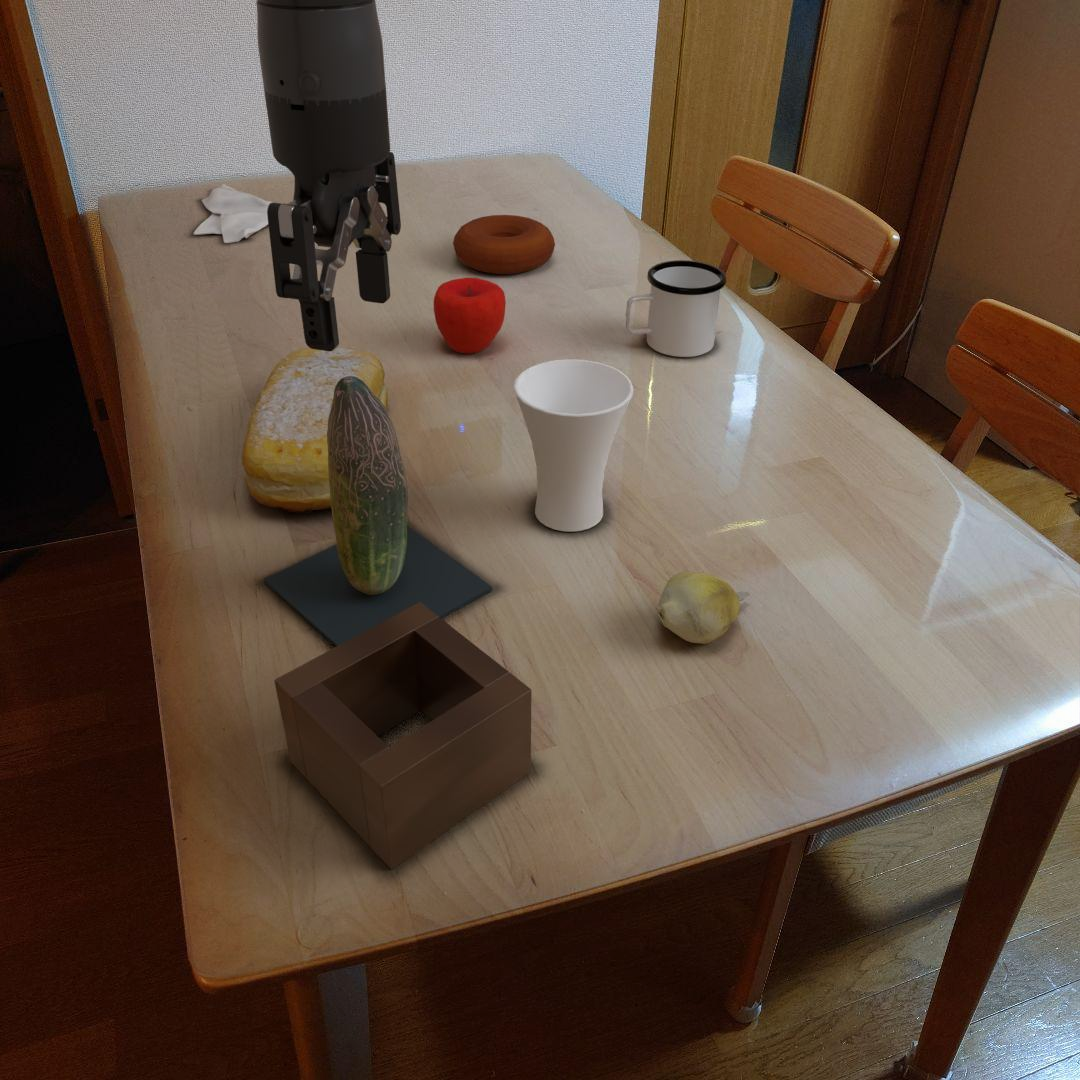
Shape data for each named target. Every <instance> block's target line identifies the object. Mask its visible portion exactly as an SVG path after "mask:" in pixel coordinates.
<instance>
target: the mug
mask: <svg viewBox="0 0 1080 1080" xmlns="http://www.w3.org/2000/svg"><path fill="white" fill-rule="evenodd" d="M646 279H647V281H648V283H649V284H650V293H647V294H639V295H633V296H631V297H629V298H628V300H626V309H625V328H626V330H627V332H628V333H630V334H631V335H645V334H646V343H647V345H648V346H649V347H650V348H651V349H652V350H654V351H655V352H657V353H660V354H662V355H665V356H669V357H675V358H693V357H698V356H702V355H704V354H706V353H708V352H710V351H711V350H712V349H713V348H714V345H715V338H716V332H717V331H716V330H717V321H718V315H719V314H718V313H719V304H720V296H721V290H722V289H723V288H724V287H725V286H726V284H727V275H726V273H725V272H724V271H723V270H722V269H721V268H719V267H717V266H715V265H713V264H710V263H708V262H707V263H706V262H703V261H696V260H689V259H688V260H687V259H686V260H685V259H676V260H668V261H663V262H658V263H656V264H654V265H653V266H651V267H650V268H649V269H648V271H647V275H646ZM639 301H649V307H648V318H647V327H641V328H631V312H632V311H631V309H632V304H633V303H634V302H639Z"/></svg>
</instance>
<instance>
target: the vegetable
mask: <svg viewBox="0 0 1080 1080" xmlns="http://www.w3.org/2000/svg"><path fill="white" fill-rule="evenodd" d="M327 444H328V474H329V487H330V499H331V508H330V509H331V514H332V523H333V529H334V530H333V531H334V535H335V543H336V545H337V549H338V554H339V559H340V562H341V565H342V568H343V570H344V572H345V574H346V577H347V578H348V580H349V582H350V583H351V585H352V586H353V587H354V588H356V589H357V590H359V591H361V592H363V593H365V594H368V595H377V594H381V593H383V592H385V591H387V590H388V589H389V588H390V587H392V585H393V584H394V583H395V582H396V580H397V578H398V577H399V575H400V573H401V570H402V567H403V563H404V559H405V553H406V546H407V526H408V517H409V515H408V514H409V512H408V511H409V510H408V508H409V506H408V505H409V500H408V499H409V498H408V497H409V496H408V484H407V477H406V471H405V470H406V469H405V464H404V462H403V458H402V453H401V450H400V449H401V448H400V444H399V439H398V434H397V431H396V427H395V426H394V423H393V421H392V418H391V416H390V414H389V412H388V410H387V407H386V408H385V407H384V405H383V404H382V402H381V401H380V400H379V399H378V398H377V397H376V396H375V395H374V394H373V393H372V391H371V390H370V389H369V387H368V386H367V385H366V384H365V382H364V381H362V380H361V379H359V378H357V377H354V376H347V377H344V378H342V379H341V380H340V381H339V382H338V383H337V384H336V386H335V390H334V396H333V403H332V406H331V410H330V414H329V418H328V430H327Z"/></svg>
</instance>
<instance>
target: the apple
mask: <svg viewBox="0 0 1080 1080" xmlns="http://www.w3.org/2000/svg"><path fill="white" fill-rule="evenodd" d="M506 302H507V301H506V295H505V291H504V290H503V288H501V286H500V285H498V284H497V283H494V282H492V281H490V280H487V279H483V278H479V277H461V278H456V279H455V278H454V279H451V280H448V281H445V282H443V283H441V284H440V285H439V286H438V288H437V289H436V291H435V294H434V297H433V314H434V319H435V320H434V321H435V323H436V326H437V329H438V331H439V333H440V334H441V336H442V338H443V339H444V341H445V342H446V343H447V345H448V346H449V347H450V348H451V350H454V351H455V352H457V353H460V354H465V355H467V354H468V355H470V354H471V355H472V354H476V353H479V352H481V351H484V350H485V349H487V348H489V346H490V345H491V343H492V342H493V341H494V339H495V338H496V337H497V335H498V333H500V331H501V329H502V326H503V324H504V320H505V316H506V315H505V314H506V306H507V305H506V304H507V303H506Z"/></svg>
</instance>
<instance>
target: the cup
mask: <svg viewBox="0 0 1080 1080" xmlns="http://www.w3.org/2000/svg"><path fill="white" fill-rule="evenodd" d="M513 390H514V393H515V396H516V399H517V402H518V404H519V408H520V410H521V413H522V416H523V421H524V423H525V425H526V429H527V432H528V435H529V438H530V441H531V444H532V449H533V455H534V462H535V467H536V468H535V469H536V482H537V493H536V501H535V508H534V514H535V517H536V519H537V520H538V521H539V523H541V524H542V525H544V526H545V527H546V528H547V527H548V528H550V529H552V530H556V531H560V532H572V533H573V532H581V531H585V530H589V529H591V528H593V527H595V526H596V525H597V524H599V523H600V522H601V521H602V519H603V517H604V502H603V500H604V499H603V486H604V478H605V472H606V468H607V467H606V466H607V463H608V459H609V455H610V452H611V448H612V444H613V443H614V439H615V438H616V435H617V433H618V430H619V427H620V425H621V423H622V420H623V418H624V415H625V413H626V411H627V410H628V409H627V408H628V406H629V405H630V402H631V399H632V397H633V396H634V395H633V394H634V385H633V383H632V381H631V379H630V378H629V377H628V375H626V374H625V373H624V372H623V371H622V370H619V369H617V368H615V367H613V366H611V365H608V364H606V363H601V362H598V361H593V360H587V359H577V358H576V359H575V358H574V359H572V358H568V359H567V358H565V359H553V360H550V361H544V362H540V363H538V364H535V365H532V366H529V367H528V368H527V369H524V370H523V371H522V372H520V374H519V375H518V376H517V377H516V378H515V380H514V383H513Z"/></svg>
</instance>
